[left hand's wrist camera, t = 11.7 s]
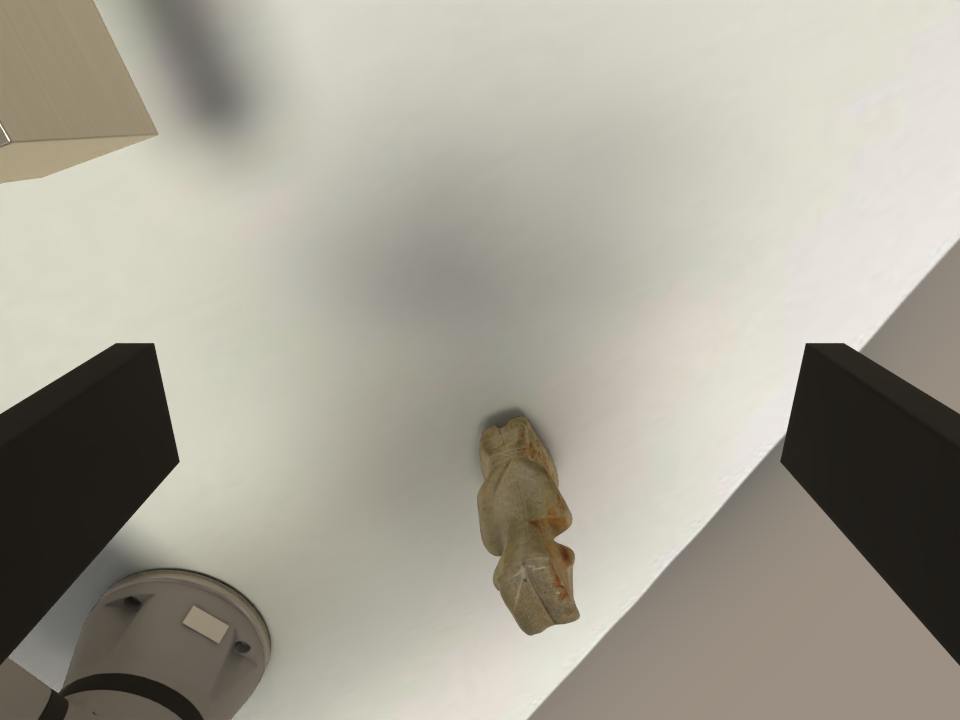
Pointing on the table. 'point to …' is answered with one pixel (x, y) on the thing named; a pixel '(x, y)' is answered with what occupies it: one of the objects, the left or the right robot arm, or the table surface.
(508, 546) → the sculpture
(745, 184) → the table surface
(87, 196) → the table surface
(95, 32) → the bar
